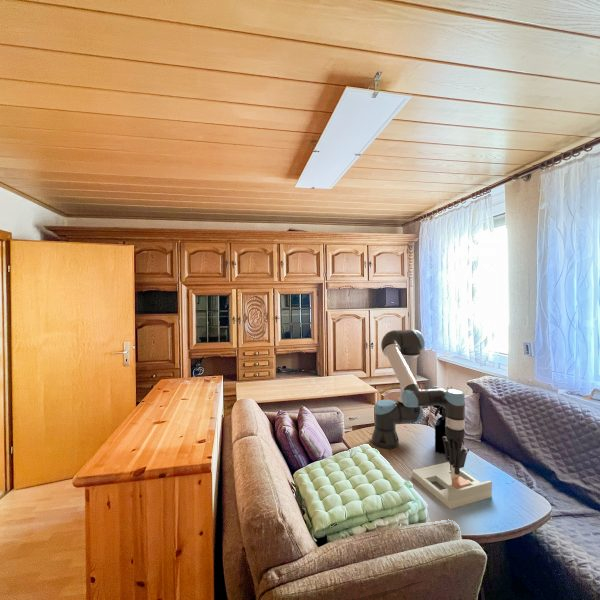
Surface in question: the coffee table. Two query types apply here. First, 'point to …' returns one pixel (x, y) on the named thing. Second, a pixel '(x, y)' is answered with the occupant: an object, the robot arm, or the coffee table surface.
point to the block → (459, 482)
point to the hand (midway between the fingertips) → (454, 480)
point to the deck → (441, 485)
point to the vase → (440, 429)
